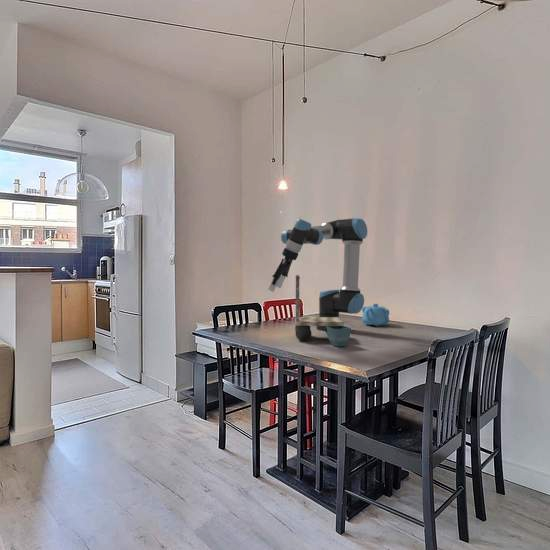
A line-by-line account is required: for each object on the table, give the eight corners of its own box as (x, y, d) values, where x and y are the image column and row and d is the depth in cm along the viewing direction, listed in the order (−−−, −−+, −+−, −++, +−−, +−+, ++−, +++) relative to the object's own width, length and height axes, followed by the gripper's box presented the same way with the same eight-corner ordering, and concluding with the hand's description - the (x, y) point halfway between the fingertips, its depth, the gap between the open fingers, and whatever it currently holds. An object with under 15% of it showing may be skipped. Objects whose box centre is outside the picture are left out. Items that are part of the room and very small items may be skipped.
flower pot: (325, 344, 193) (326, 326, 193) (341, 343, 196) (342, 325, 196) (334, 348, 185) (334, 329, 185) (351, 347, 188) (351, 328, 188)
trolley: (339, 335, 216) (340, 274, 215) (343, 341, 200) (344, 276, 199) (295, 335, 217) (295, 274, 215) (295, 341, 201) (295, 275, 200)
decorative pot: (362, 327, 245) (362, 304, 245) (361, 322, 261) (361, 302, 260) (390, 327, 242) (390, 305, 242) (387, 323, 258) (387, 302, 258)
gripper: (290, 246, 207) (274, 282, 211) (278, 247, 183) (260, 288, 187) (303, 252, 206) (287, 289, 210) (293, 254, 182) (274, 295, 186)
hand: (274, 288), depth 199 cm, fingers open, 13 cm apart
